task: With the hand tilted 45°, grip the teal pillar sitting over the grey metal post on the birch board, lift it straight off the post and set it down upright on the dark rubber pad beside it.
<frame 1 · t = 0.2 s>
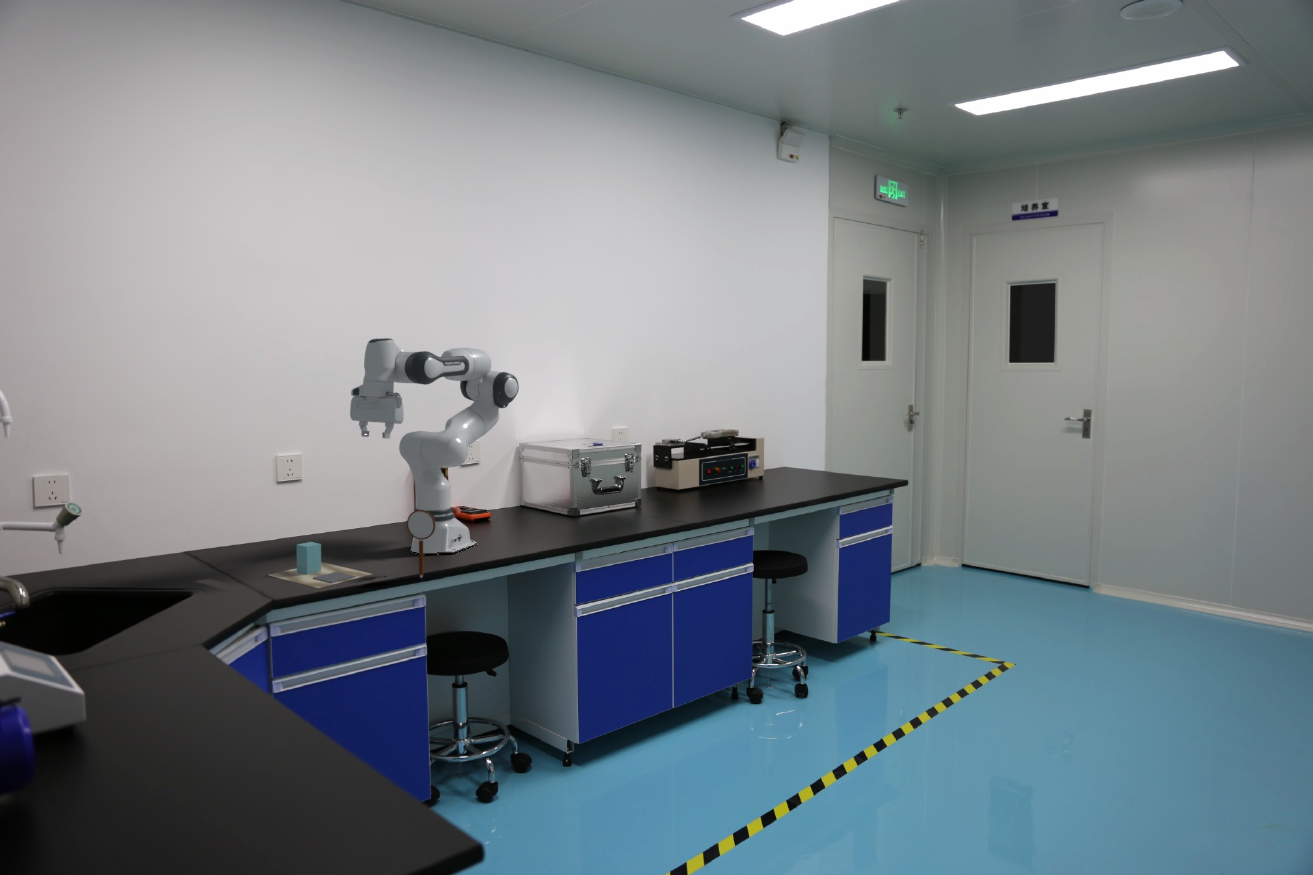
hand: (375, 437, 253), 39 cm above the worktop, tool pointing down, fingers open, 8 cm apart
pad: (334, 577, 235), resting on post board
magnifying glass: (421, 578, 243), on the worktop
post board: (320, 579, 239), on the worktop
teal pillar: (309, 571, 241), point 1 cm above the worktop, touching post board
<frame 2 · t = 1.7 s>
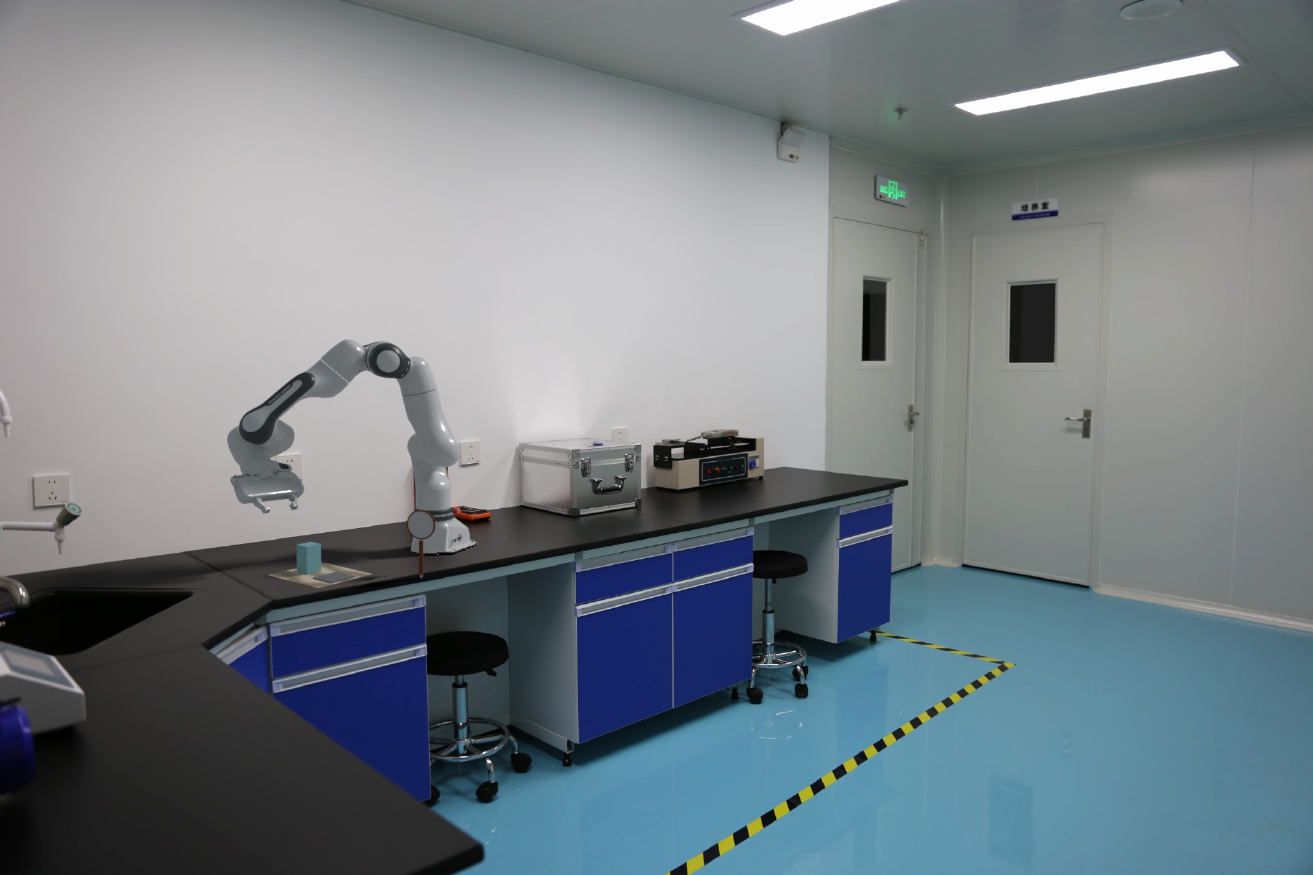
hand: (281, 510, 245), 18 cm above the worktop, tool tilted 45°, fingers open, 8 cm apart
nothing on the worktop moved.
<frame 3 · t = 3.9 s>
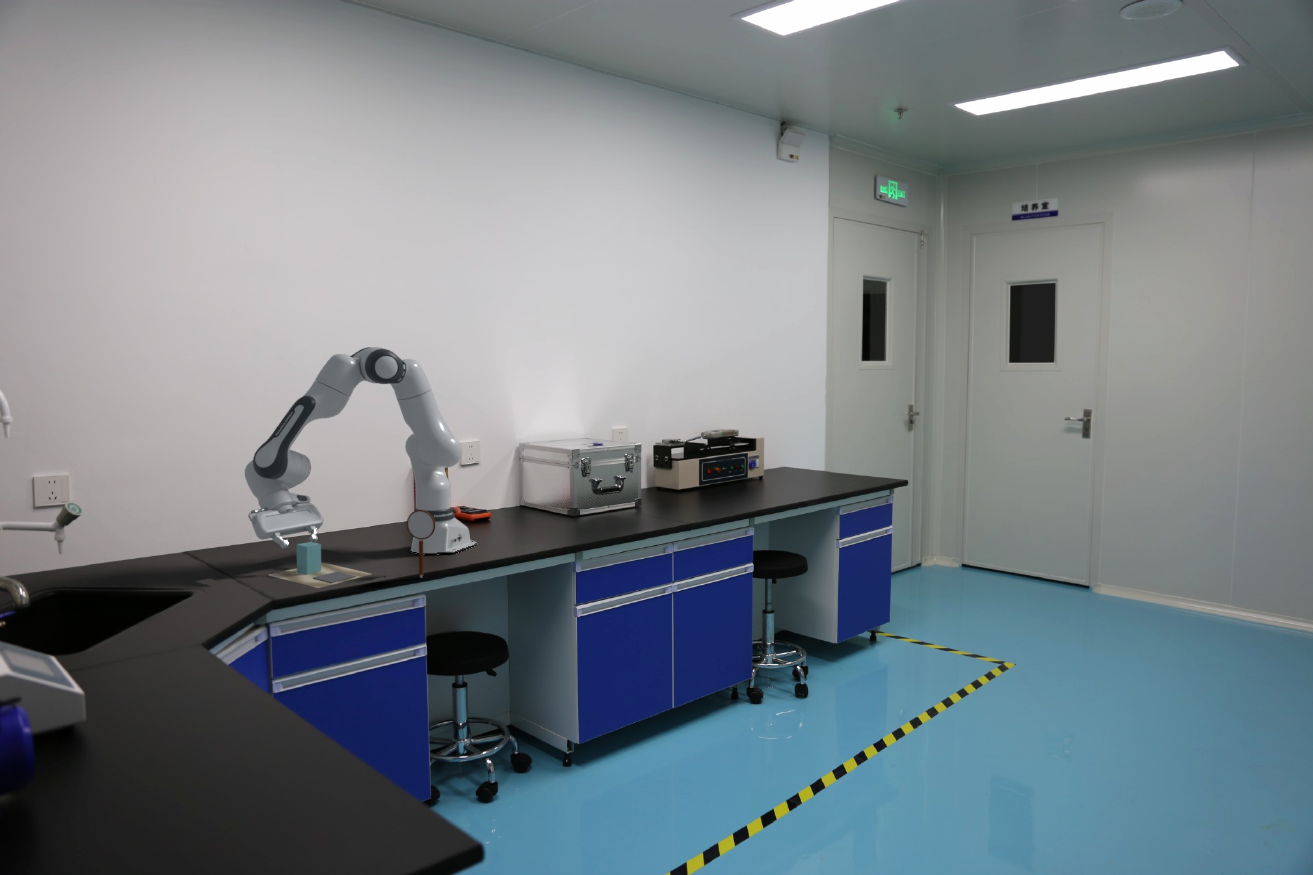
hand: (300, 543, 242), 9 cm above the worktop, tool tilted 45°, fingers open, 8 cm apart
nothing on the worktop moved.
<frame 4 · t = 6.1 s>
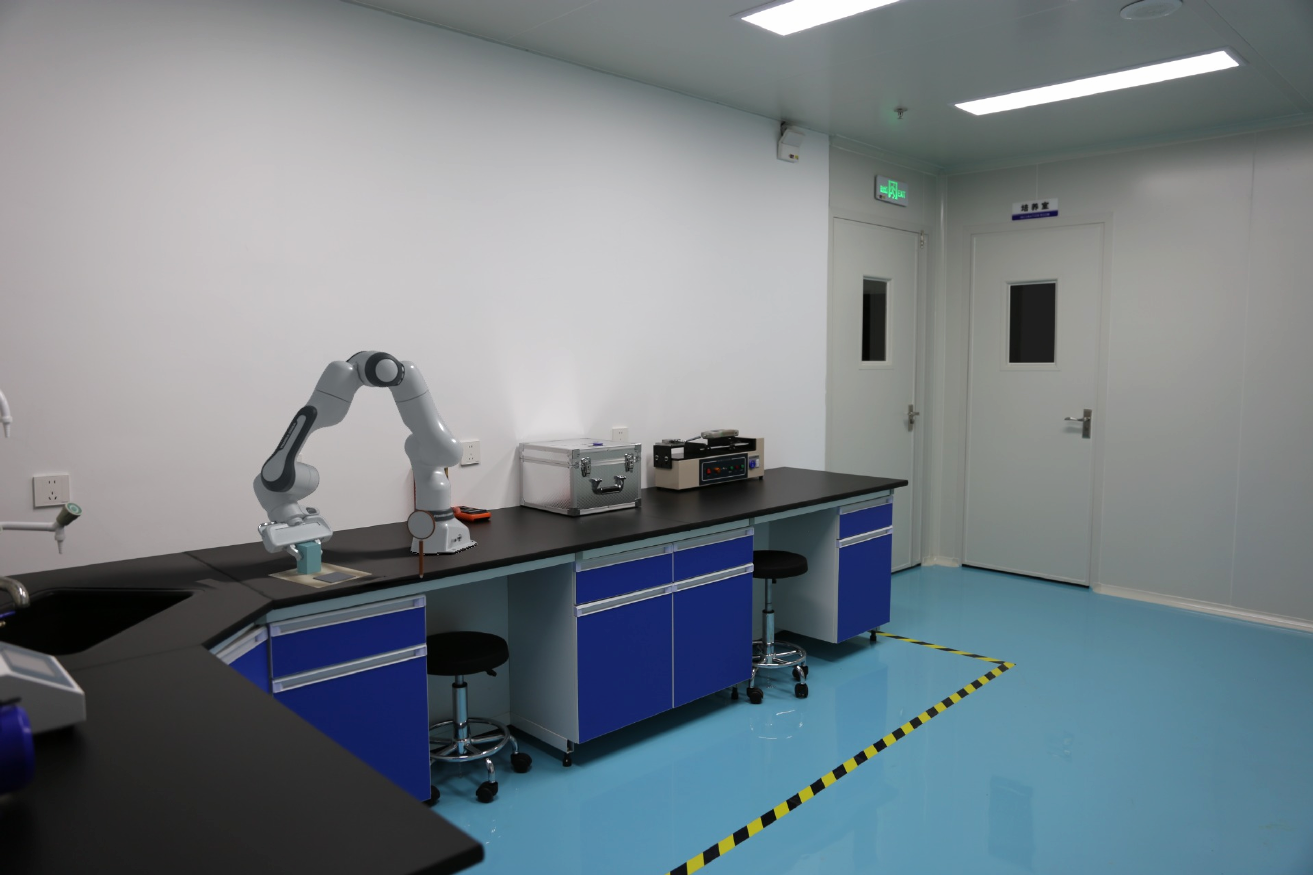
hand: (310, 557, 240), 6 cm above the worktop, tool tilted 45°, fingers closed on teal pillar, 5 cm apart
teal pillar: (309, 571, 241), point 1 cm above the worktop, touching gripper, post board
everything else where it was.
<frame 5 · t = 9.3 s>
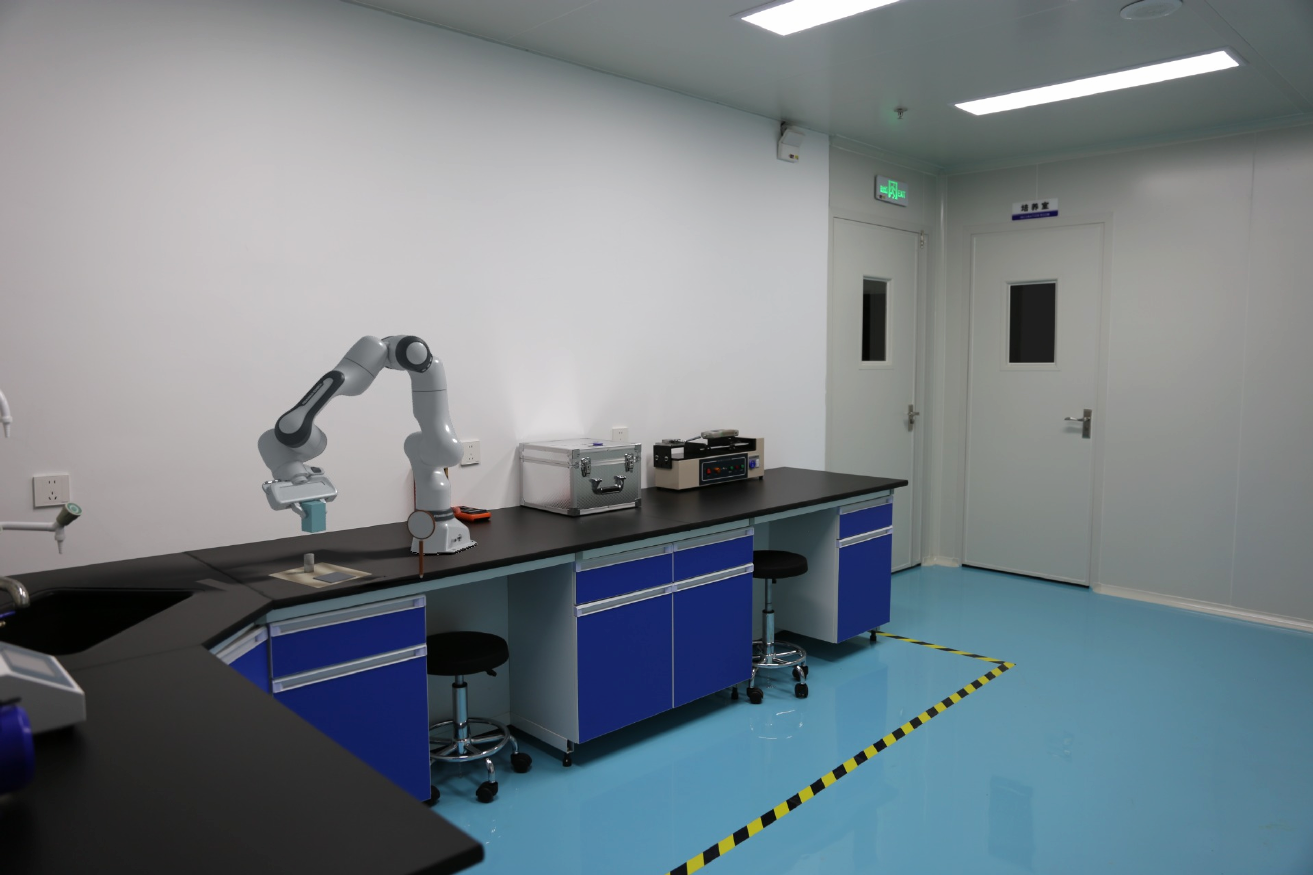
hand: (315, 515, 238), 18 cm above the worktop, tool tilted 45°, fingers closed on teal pillar, 5 cm apart
teal pillar: (313, 530, 239), point 14 cm above the worktop, touching gripper
everything else where it was.
when the fingers open (7 cm above the worktop, at t = 12.9 s): teal pillar stays where it is, resting on pad.
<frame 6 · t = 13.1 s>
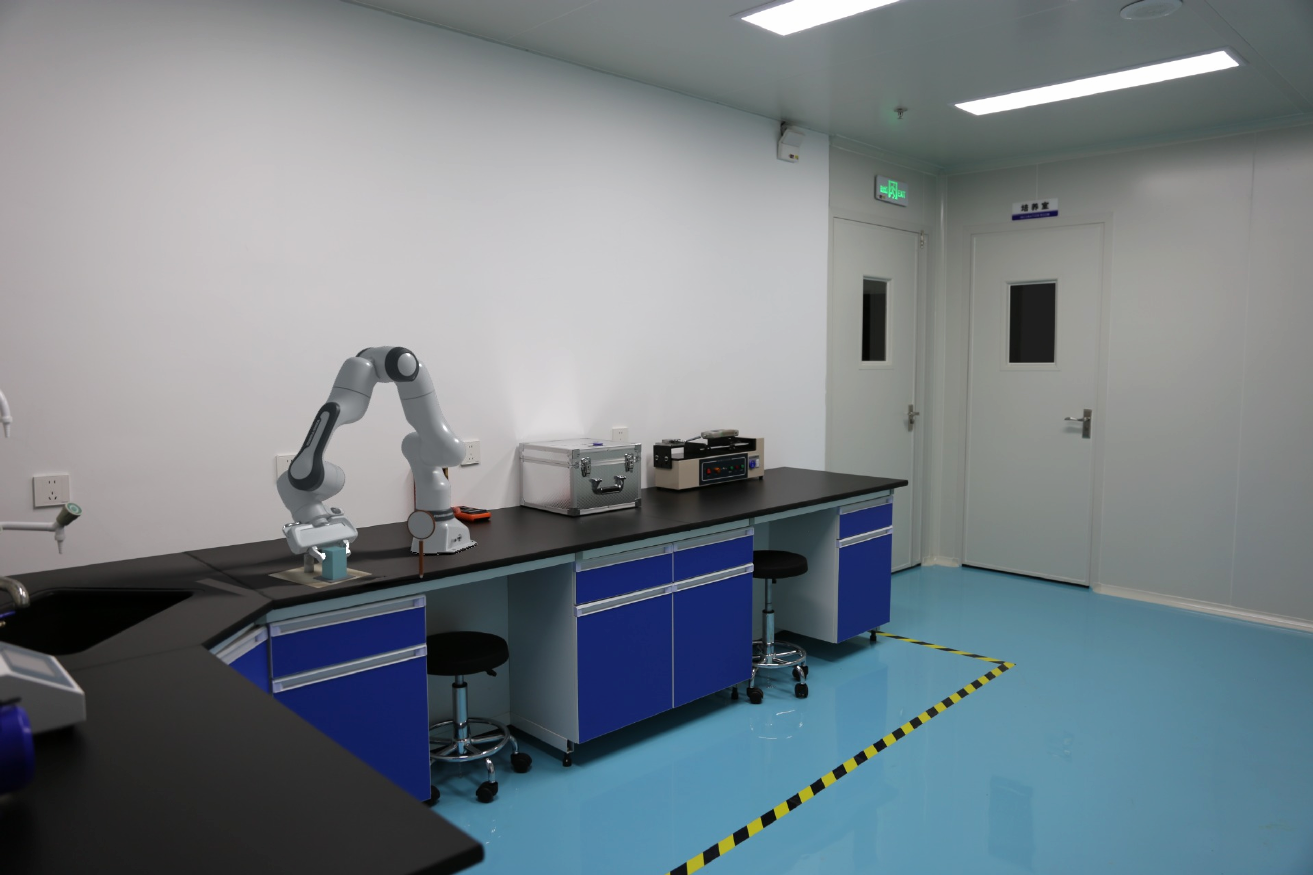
hand: (335, 558, 235), 7 cm above the worktop, tool tilted 45°, fingers open, 7 cm apart
teal pillar: (334, 576, 235), point 2 cm above the worktop, touching pad
everything else where it was.
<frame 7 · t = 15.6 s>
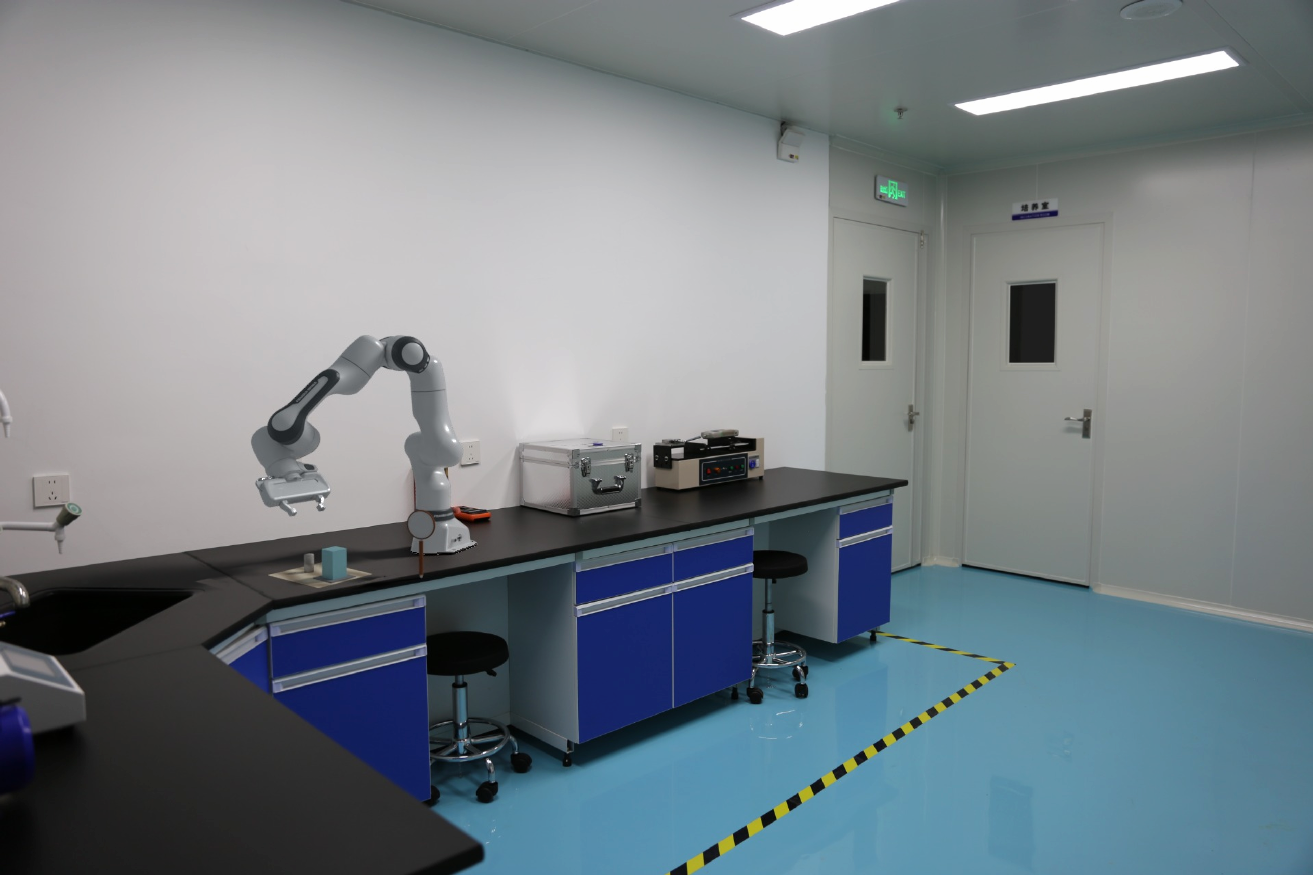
hand: (308, 512, 239), 19 cm above the worktop, tool tilted 45°, fingers open, 8 cm apart
nothing on the worktop moved.
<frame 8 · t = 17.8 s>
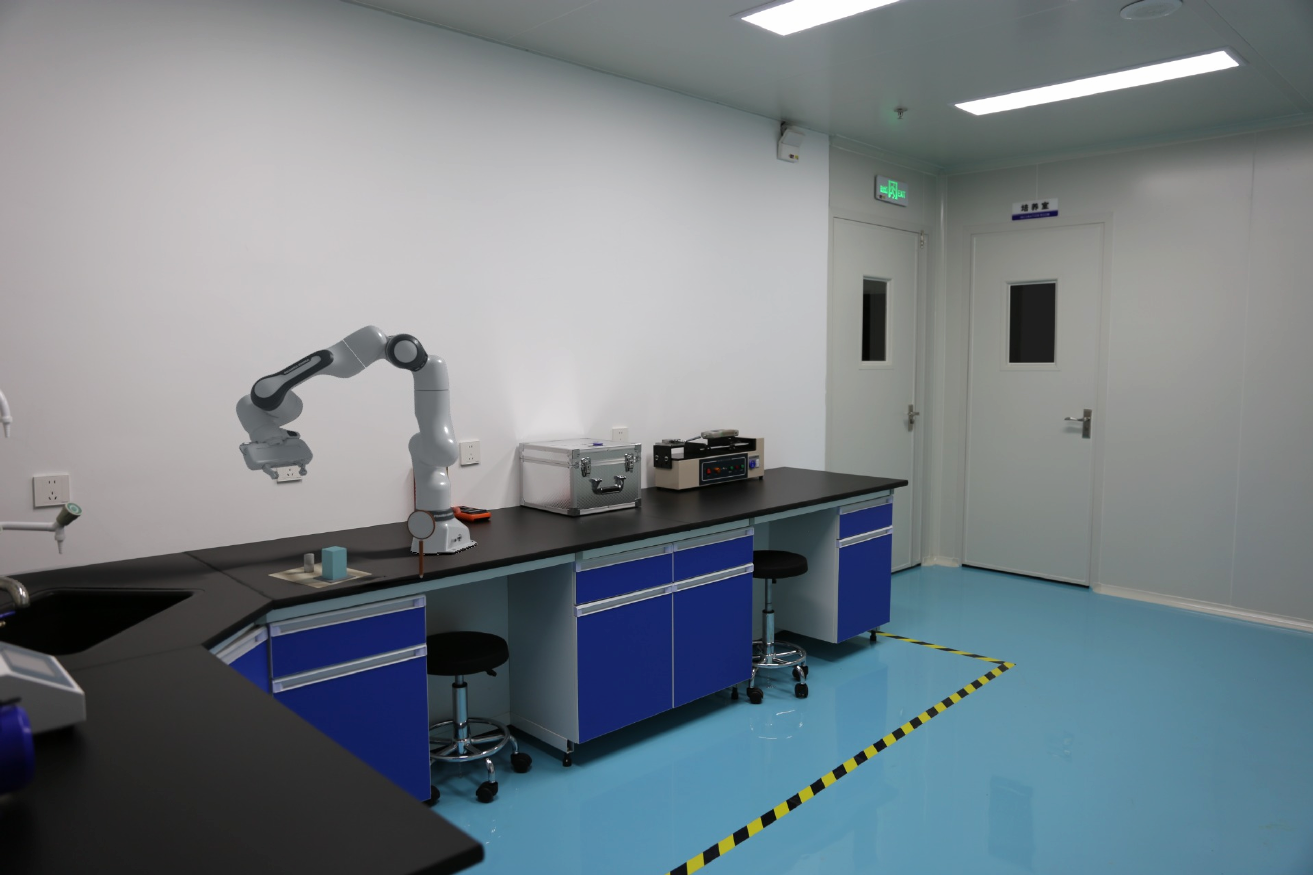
hand: (290, 476, 249), 27 cm above the worktop, tool tilted 45°, fingers open, 8 cm apart
nothing on the worktop moved.
at the end: teal pillar 0.0 cm off-centre on the pad, point 0.3 cm above the pad's base; teal pillar tilted 0°; the gripper is holding nothing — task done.
